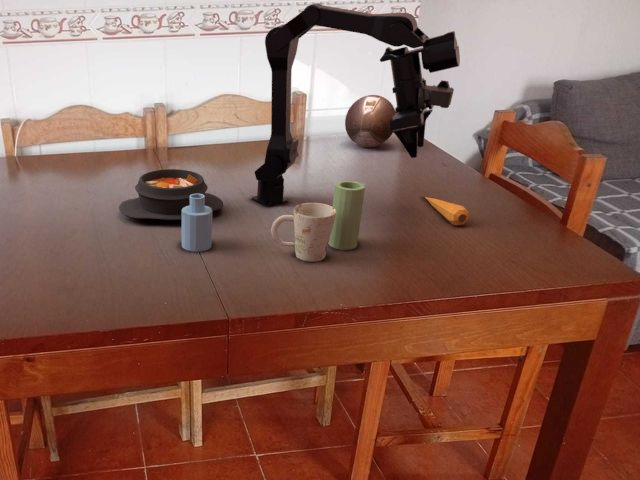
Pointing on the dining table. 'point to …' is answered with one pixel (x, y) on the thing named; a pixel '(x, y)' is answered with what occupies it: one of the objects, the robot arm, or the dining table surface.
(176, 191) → the casserole
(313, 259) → the mug
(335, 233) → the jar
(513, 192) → the dining table surface
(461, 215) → the carrot
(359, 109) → the bronze metallic sphere
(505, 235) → the dining table surface
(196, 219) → the bottle
